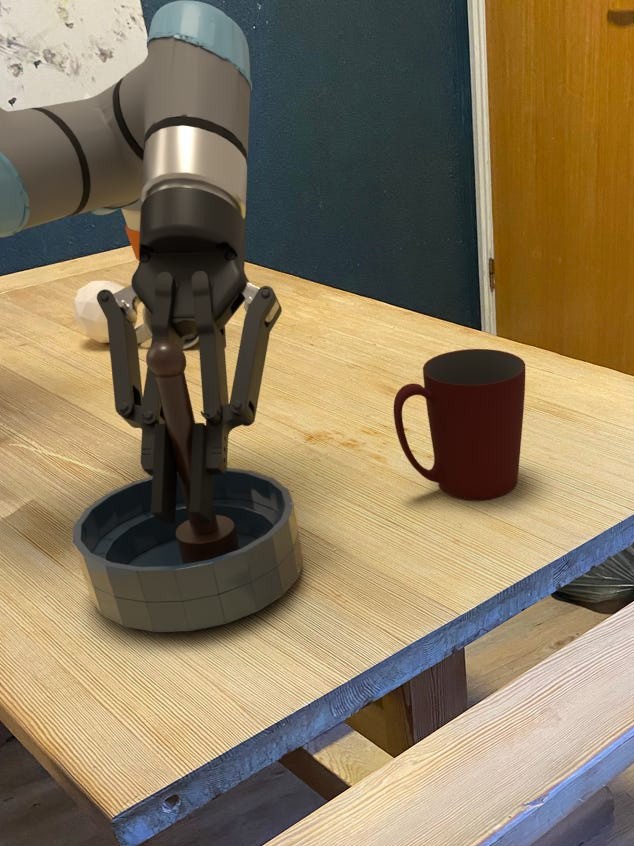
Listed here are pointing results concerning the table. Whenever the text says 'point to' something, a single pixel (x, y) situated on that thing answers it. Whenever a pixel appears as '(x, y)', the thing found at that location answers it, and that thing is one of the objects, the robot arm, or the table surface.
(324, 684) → the table surface
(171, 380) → the muddler
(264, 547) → the bowl
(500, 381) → the mug
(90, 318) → the geometric ball
